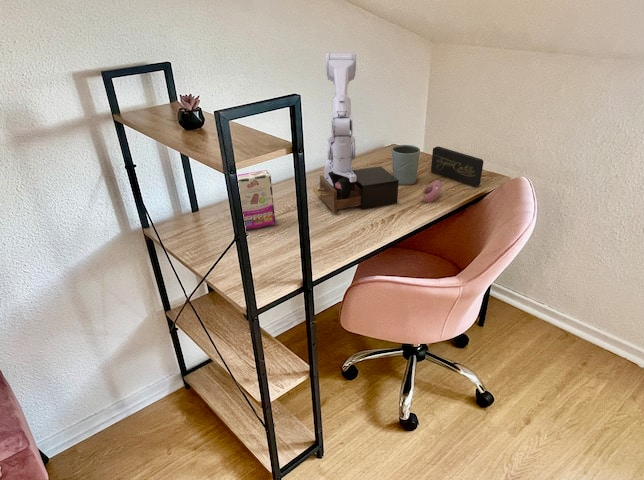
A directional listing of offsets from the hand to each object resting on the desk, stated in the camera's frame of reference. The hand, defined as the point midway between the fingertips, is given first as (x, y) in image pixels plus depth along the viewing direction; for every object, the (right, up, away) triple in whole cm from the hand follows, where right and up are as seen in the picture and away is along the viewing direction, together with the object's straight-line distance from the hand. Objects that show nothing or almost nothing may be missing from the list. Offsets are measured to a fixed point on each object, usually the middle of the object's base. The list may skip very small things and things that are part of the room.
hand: (342, 195), depth 164 cm
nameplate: (+42, +9, +20) cm, 47 cm away
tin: (0, -1, +1) cm, 1 cm away
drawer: (-1, -2, +1) cm, 3 cm away
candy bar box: (-26, -11, -12) cm, 31 cm away
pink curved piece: (+31, 0, +6) cm, 31 cm away
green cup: (+23, +8, +19) cm, 31 cm away
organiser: (+10, 0, +5) cm, 11 cm away
